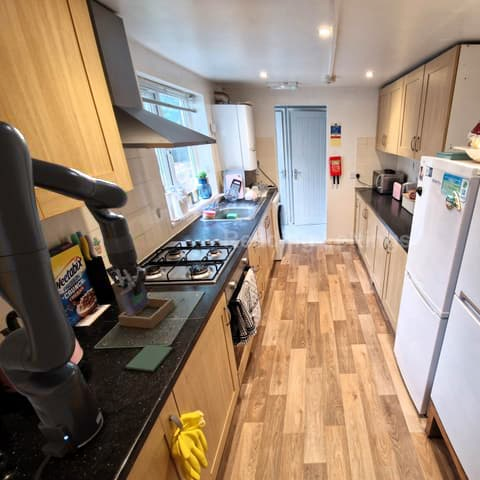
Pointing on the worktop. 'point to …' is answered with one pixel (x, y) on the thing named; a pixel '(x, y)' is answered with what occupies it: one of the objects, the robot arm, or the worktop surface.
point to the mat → (149, 358)
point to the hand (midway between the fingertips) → (133, 294)
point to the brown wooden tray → (151, 322)
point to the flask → (133, 300)
